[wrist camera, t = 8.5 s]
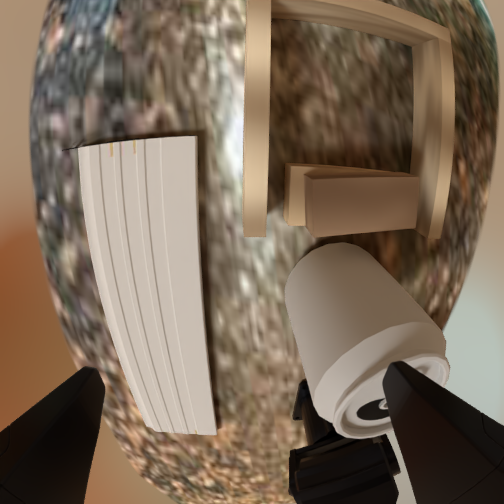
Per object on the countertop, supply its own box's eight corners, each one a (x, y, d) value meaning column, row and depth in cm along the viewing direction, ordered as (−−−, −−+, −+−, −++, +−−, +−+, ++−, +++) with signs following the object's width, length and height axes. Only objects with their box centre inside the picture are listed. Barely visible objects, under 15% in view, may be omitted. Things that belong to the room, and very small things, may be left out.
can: (266, 309, 22) (291, 447, 11) (309, 222, 20) (391, 331, 8) (345, 331, 24) (398, 445, 12) (389, 257, 21) (484, 354, 10)
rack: (414, 223, 20) (440, 239, 17) (242, 219, 19) (243, 236, 16) (422, 38, 14) (449, 29, 11) (246, 3, 13) (249, -21, 10)
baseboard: (136, 419, 28) (217, 425, 29) (132, 437, 26) (217, 444, 27) (68, 148, 17) (199, 134, 17) (47, 152, 14) (193, 134, 15)
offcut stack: (387, 219, 20) (415, 238, 16) (282, 217, 19) (294, 237, 16) (393, 168, 18) (425, 178, 15) (285, 159, 18) (298, 165, 14)
